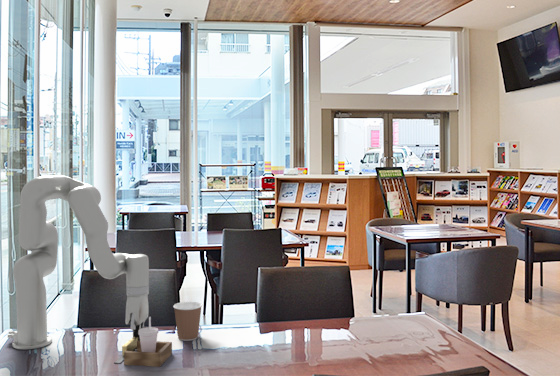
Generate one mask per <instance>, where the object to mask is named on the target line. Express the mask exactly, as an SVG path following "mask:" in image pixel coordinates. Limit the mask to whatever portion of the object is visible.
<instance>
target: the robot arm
mask: <svg viewBox="0 0 560 376" xmlns="http://www.w3.org/2000/svg"><path fill="white" fill-rule="evenodd" d="M58 199H59V200H60V199H61V200H63V201H67V203H68V206H69V207H70V210H72V212H73V216H75V219H76V220H77V223H78V224H79V226H80V228H81V229H82V231H83V234H84V236H85V237H84V238H85V244H86V249H87V252H88V256H89V258H90V260H91V262H92V263H93V266H94V268H95V269H96V272H98V274H99V275H100V276H101V277H102V278H104V279H107V280H113V279H116V278H118V277H119V276H121V275H123V274H126V275H125V276H126V279H125V281H126V283H125V284H126V296H127V297H126V304H125V319H124V320H125V325H126V326H129V325H130V328H129V329H130V330H132V338H133V337H138V340H139V341H140V336H139V334H138V330H139V329H142V328H145V322H146V320H147V319H149V311H150V310H149V297H148V295H149V294H150V283H149V282H150V275H149V274H150V273H149V272H150V269H149V267H150V262H149V256H148V255H146V254H143V253H136V254H135V253H134V254H129V253H123V252H116V253H113V251H112V249H111V248H110V245H109V241H108V229H109V222H108V219H106V217H105V215H104V213H103V211H102V209H101V207H100V204H101V200H102V196H101V192H100V191H99V189H98V188H97V187H95V186H94V185H91V184H89V183H85V182H83V181H81V180H77V179H75V178H72V177H70V176H68V175H67V176H66V175H64V174H45V175H40V176H37V177H33V178H32V179H30V180H29V181H27V182H26V183H25V184H24V186H23V187H22V189H21V193H20V197H19V200H20V202H19V218H18V219H19V220H18V221H19V222H18V244H19V246H20V247H21V248H22V249H23V250H25V251H29V252H30V253H27V254H26V255H23V256H21V257H20V258H18V259H17V260H16V262H14V265H13V268H12V276H13V281H14V284H15V297H16V298H15V299H16V330H9V331H8V334H7V338H8V339H14V340H13V342H12V344H11V345H12V348H13V349H16V350H24V351H25V350H35V349H41V348H43V347H46V346H49V345H50V344H51V343H52V341H53V338H52V337H51V336H49V335H48V323H47V322H48V319H47V318H48V315H47V307H48V306H47V289H46V284H45V281H44V278H45V277H47V276H49V275H50V274H52V273H53V272H54V271H55V268H56V267H57V263H58V262H57V261H58V247H59V233H58V229H57V227H56V226H55V225H54V224H53V223H52V222H50V221H47V214H48V209H47V206H46V202H47V201H51V200H58Z"/></svg>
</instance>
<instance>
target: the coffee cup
mask: <svg viewBox="0 0 560 376" xmlns="http://www.w3.org/2000/svg"><path fill="white" fill-rule="evenodd" d="M172 307H173V308H174V316H175V324H176V326H175V327H176V333H177V334H176V335H177V336H178V340H180V341H184V342H185V341H188V342H190V341H195V340H196V339H198V338H199V337H198V336H199V331H200V322H201V313H202V307H203V304H202V303H201V302H199V301H198V302H197V301H182V302H177V303H174V305H173V306H172Z"/></svg>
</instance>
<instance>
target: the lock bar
mask: <svg viewBox="0 0 560 376" xmlns="http://www.w3.org/2000/svg"><path fill="white" fill-rule="evenodd" d="M137 341H138V337H133V336H132V337H131V338H130V339H129V340H128V341H127V342H126V343H124V344H123V345H122V346H121V350H122V353H121V354H122V355H124V352H125V351H132V350H134V349H135V348H136V347H137ZM122 355H121V356H122Z"/></svg>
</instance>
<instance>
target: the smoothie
mask: <svg viewBox="0 0 560 376" xmlns="http://www.w3.org/2000/svg"><path fill="white" fill-rule="evenodd" d="M151 321H152V317H151V316H148V327H147V326H146V327H144V328H142V329H139V330H138V334H139V336H140V343H141V350H142V352H155V351H156V342H157V341H158V340H157V339H158V334H159V328H158V327H154V326H152V322H151Z"/></svg>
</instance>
